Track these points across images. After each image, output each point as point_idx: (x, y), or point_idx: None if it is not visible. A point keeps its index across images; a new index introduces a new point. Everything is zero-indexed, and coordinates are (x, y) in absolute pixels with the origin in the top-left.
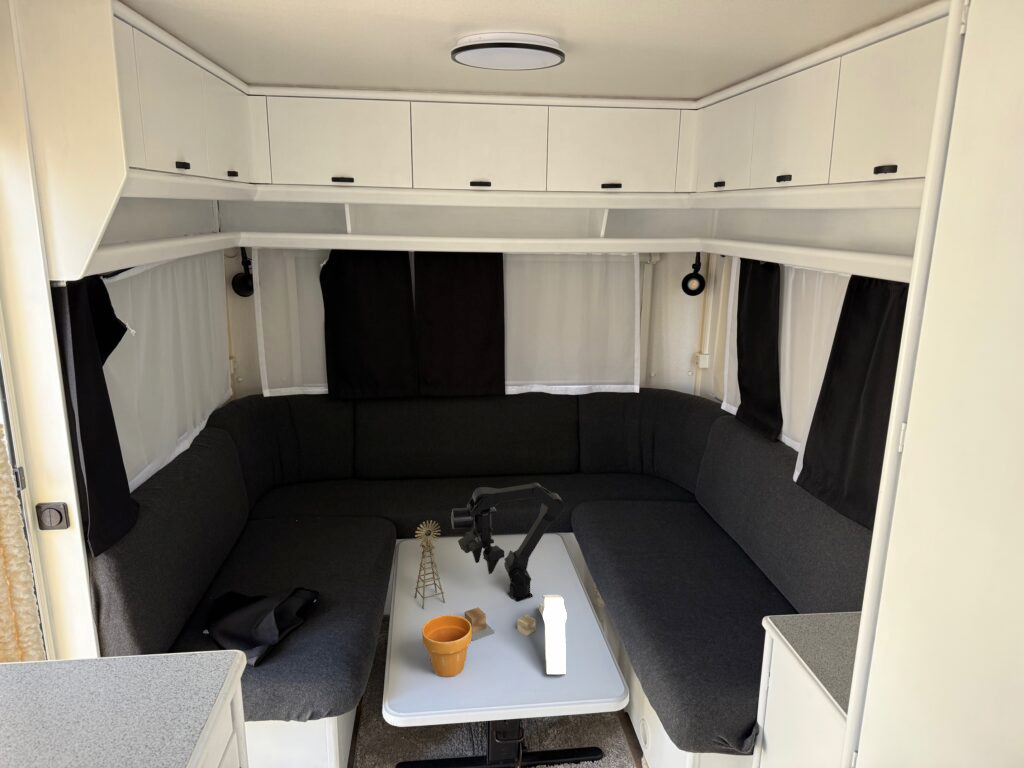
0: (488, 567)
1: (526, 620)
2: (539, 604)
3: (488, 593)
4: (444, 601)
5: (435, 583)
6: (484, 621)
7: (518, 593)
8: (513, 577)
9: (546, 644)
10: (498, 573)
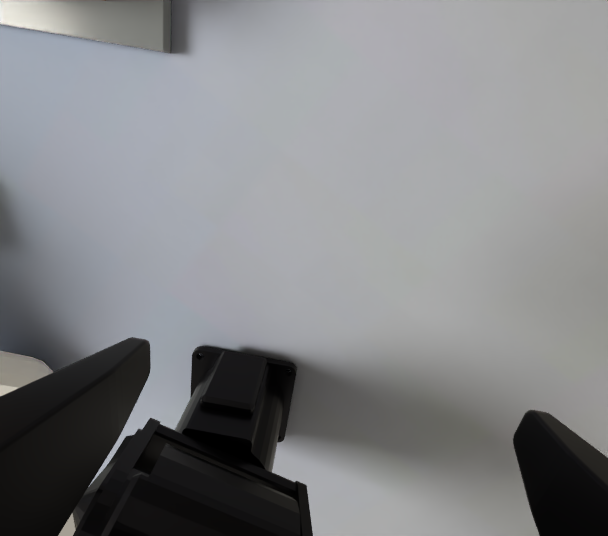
0: (6, 404)
1: None
2: (15, 383)
3: (379, 295)
4: None
5: None
6: None
7: (202, 387)
8: (120, 463)
9: None
10: (497, 453)
